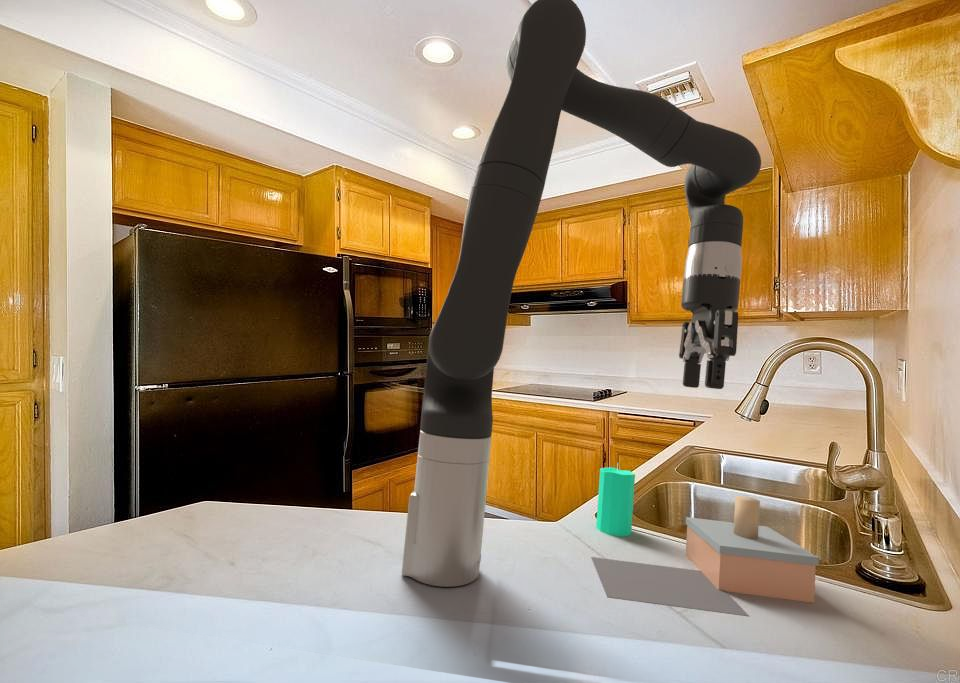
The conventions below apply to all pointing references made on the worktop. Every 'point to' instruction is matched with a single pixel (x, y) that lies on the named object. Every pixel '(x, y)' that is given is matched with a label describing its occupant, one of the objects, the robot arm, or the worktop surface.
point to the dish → (751, 572)
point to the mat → (663, 586)
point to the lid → (749, 536)
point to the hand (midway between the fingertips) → (701, 387)
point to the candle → (615, 501)
